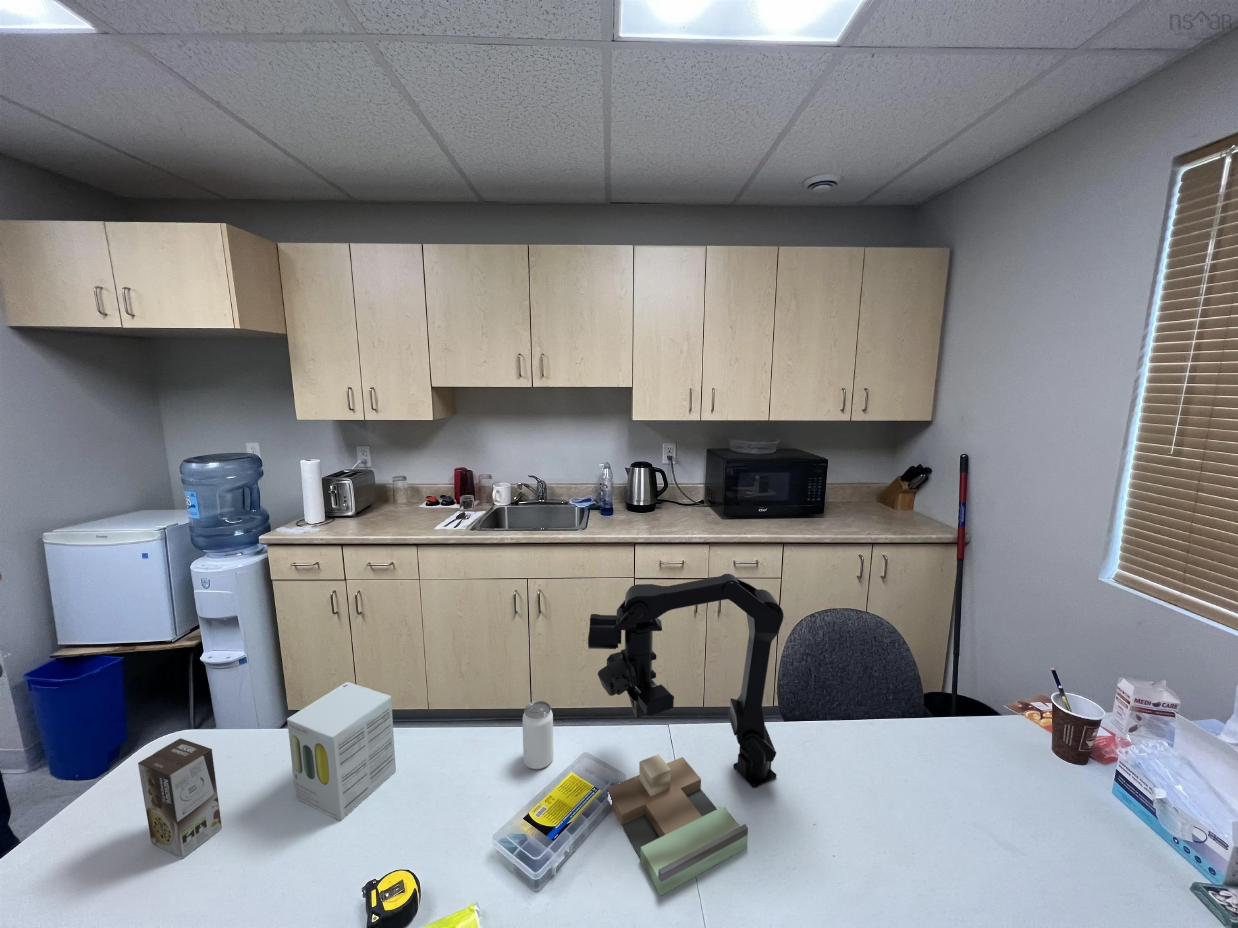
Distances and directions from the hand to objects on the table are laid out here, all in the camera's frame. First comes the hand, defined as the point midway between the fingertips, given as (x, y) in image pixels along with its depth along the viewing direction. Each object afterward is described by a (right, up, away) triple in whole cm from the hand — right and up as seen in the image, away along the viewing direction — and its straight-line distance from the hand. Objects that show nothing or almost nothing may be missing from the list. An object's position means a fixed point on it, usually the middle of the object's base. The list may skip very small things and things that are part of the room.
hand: (637, 716), depth 97 cm
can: (-22, -12, +4) cm, 25 cm away
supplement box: (-60, -13, -3) cm, 61 cm away
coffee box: (-82, -14, -14) cm, 84 cm away
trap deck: (+6, -14, -11) cm, 19 cm away
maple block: (+3, -11, -5) cm, 12 cm away
